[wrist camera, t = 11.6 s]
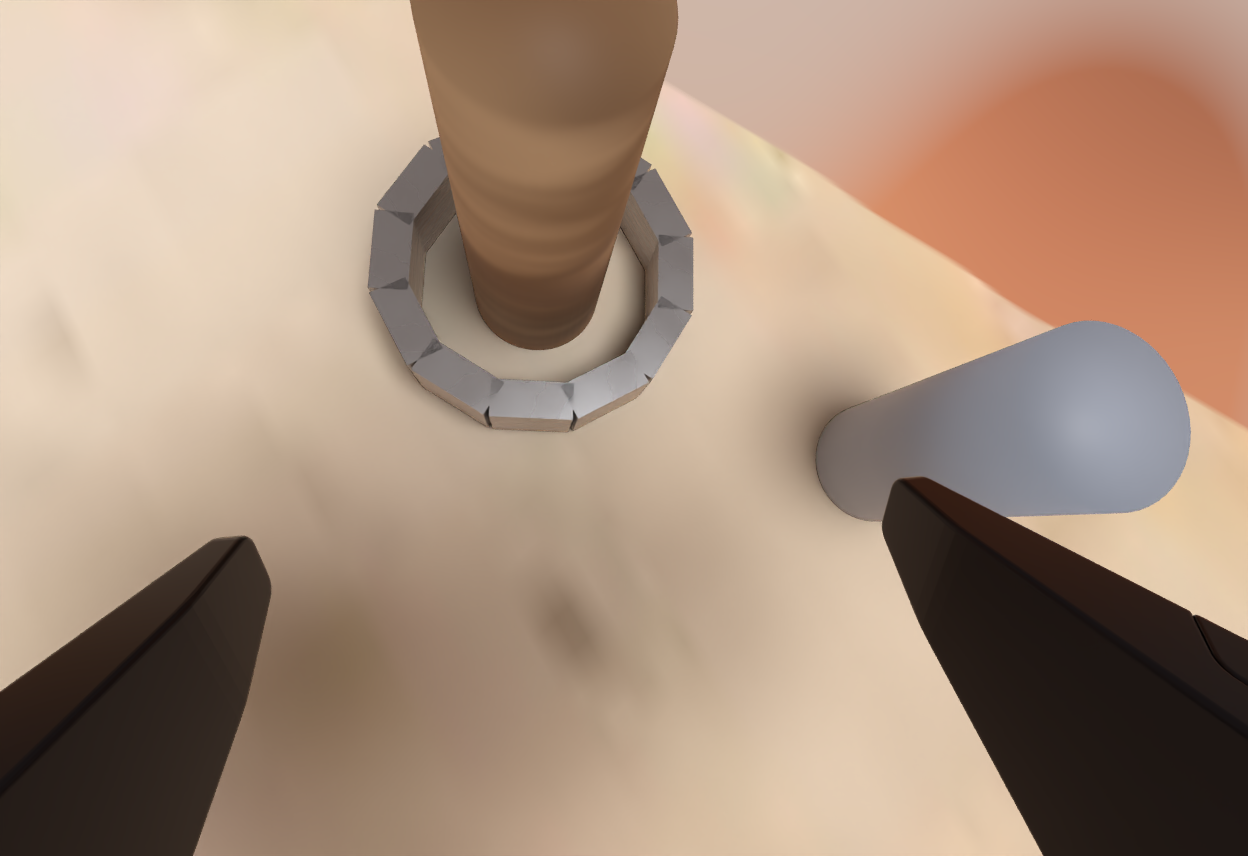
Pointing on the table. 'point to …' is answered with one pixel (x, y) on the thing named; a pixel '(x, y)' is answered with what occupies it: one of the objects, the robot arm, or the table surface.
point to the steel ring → (397, 291)
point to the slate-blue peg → (1022, 430)
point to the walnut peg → (542, 144)
